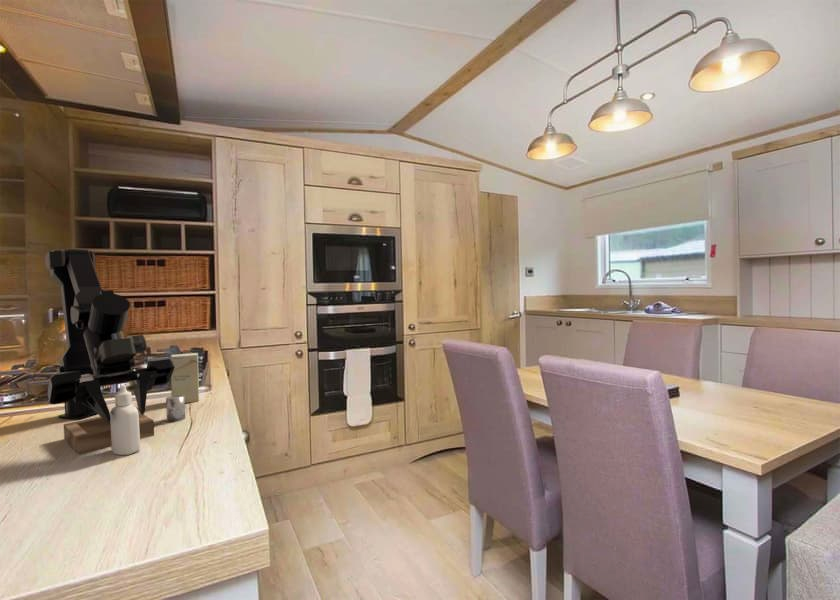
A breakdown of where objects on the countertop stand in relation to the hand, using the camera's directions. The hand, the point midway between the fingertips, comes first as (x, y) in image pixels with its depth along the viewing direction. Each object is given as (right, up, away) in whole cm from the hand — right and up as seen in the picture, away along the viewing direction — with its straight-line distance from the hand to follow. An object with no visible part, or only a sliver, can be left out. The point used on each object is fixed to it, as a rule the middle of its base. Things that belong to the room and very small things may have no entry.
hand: (126, 416), depth 75 cm
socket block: (-9, -6, +8) cm, 14 cm away
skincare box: (-8, -5, +33) cm, 35 cm away
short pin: (-2, -6, +19) cm, 20 cm away
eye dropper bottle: (-1, -7, +1) cm, 7 cm away
